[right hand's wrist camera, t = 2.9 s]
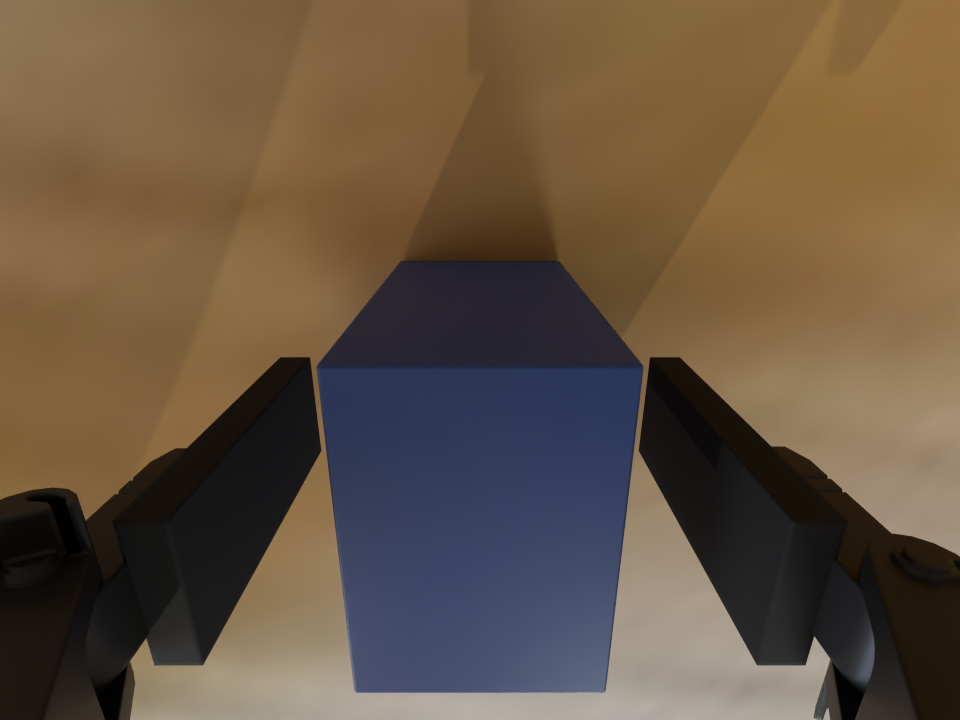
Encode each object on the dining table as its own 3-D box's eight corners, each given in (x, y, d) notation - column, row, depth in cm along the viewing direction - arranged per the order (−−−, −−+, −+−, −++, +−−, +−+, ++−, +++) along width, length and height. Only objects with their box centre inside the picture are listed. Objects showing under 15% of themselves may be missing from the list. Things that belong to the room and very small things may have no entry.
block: (400, 260, 15) (315, 365, 7) (559, 260, 15) (644, 364, 7) (410, 455, 18) (354, 693, 10) (549, 455, 18) (606, 694, 10)
